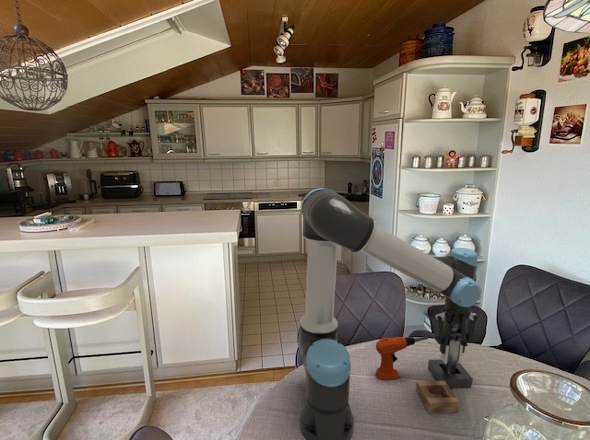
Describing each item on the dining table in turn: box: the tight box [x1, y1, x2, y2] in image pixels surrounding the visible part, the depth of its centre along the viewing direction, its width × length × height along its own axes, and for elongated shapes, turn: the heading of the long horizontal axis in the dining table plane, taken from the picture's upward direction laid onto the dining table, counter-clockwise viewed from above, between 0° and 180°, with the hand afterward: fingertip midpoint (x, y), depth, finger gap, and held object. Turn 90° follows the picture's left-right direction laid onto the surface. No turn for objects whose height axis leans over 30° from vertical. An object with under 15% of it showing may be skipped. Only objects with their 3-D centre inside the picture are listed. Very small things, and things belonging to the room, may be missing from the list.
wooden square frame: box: [415, 380, 460, 414], centre depth 104 cm, size 9×9×4 cm
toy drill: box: [375, 336, 429, 381], centre depth 114 cm, size 5×19×15 cm, turn 97°
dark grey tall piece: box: [443, 326, 462, 374], centre depth 112 cm, size 7×5×15 cm, turn 3°
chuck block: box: [427, 358, 474, 390], centre depth 114 cm, size 10×10×4 cm
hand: (450, 360), depth 113 cm, fingers closed on dark grey tall piece, 4 cm apart
